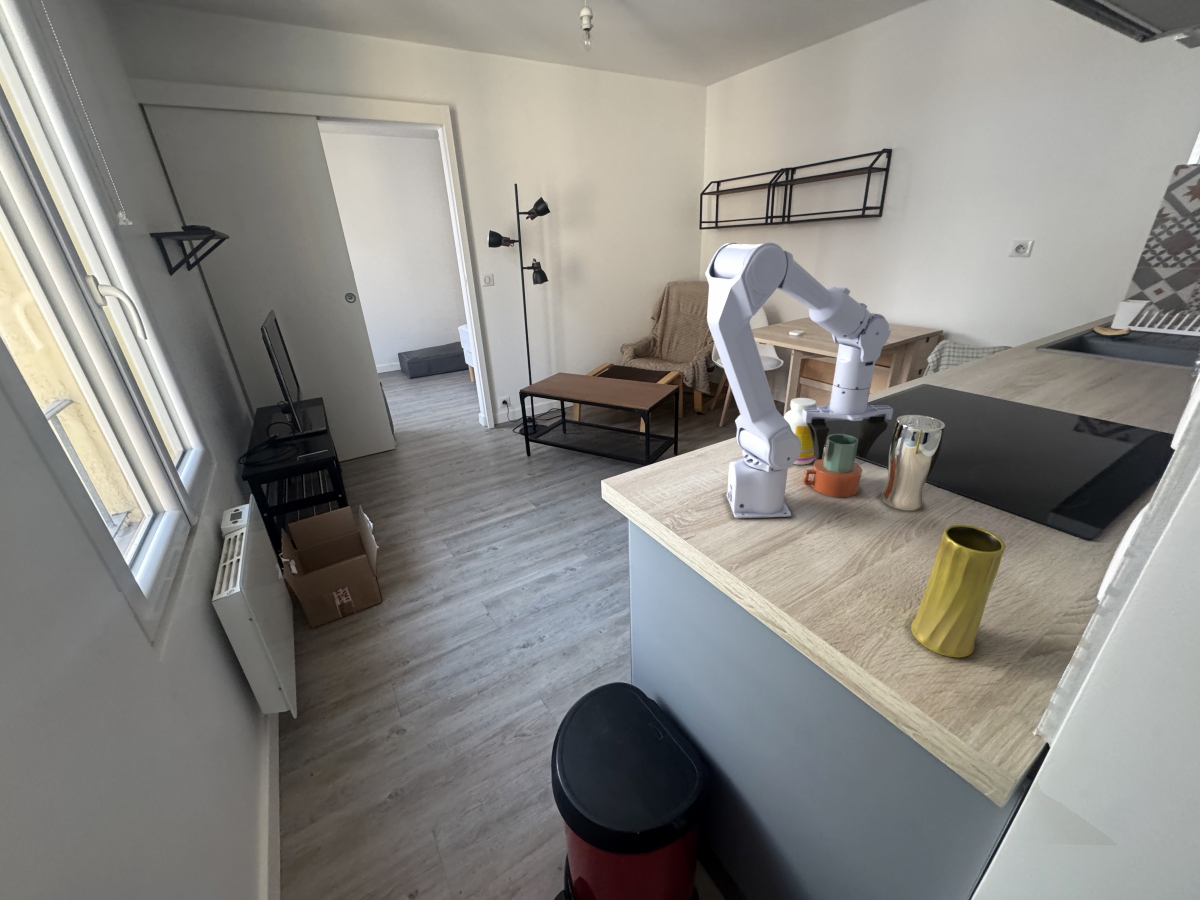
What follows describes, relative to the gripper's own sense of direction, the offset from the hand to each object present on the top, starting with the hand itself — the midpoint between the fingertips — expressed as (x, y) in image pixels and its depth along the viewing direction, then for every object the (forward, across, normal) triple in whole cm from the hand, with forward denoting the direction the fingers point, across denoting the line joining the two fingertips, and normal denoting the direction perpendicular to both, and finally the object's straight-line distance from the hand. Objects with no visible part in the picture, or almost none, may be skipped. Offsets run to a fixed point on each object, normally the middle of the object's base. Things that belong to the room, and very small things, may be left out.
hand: (839, 456), depth 85 cm
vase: (+6, -2, -36) cm, 37 cm away
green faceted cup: (+2, 0, 0) cm, 2 cm away
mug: (+6, 0, 0) cm, 6 cm away
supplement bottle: (+6, -3, +12) cm, 14 cm away
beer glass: (+6, +9, -6) cm, 12 cm away
